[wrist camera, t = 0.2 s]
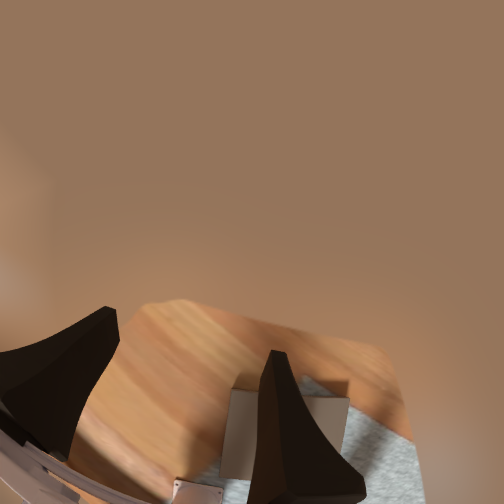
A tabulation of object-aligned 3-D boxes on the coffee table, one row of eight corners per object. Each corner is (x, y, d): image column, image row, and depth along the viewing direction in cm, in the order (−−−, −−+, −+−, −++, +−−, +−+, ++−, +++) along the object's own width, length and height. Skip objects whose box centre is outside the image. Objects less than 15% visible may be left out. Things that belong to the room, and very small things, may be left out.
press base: (328, 474, 32) (333, 480, 30) (219, 470, 32) (218, 476, 30) (343, 396, 38) (349, 398, 35) (231, 388, 38) (231, 390, 36)
